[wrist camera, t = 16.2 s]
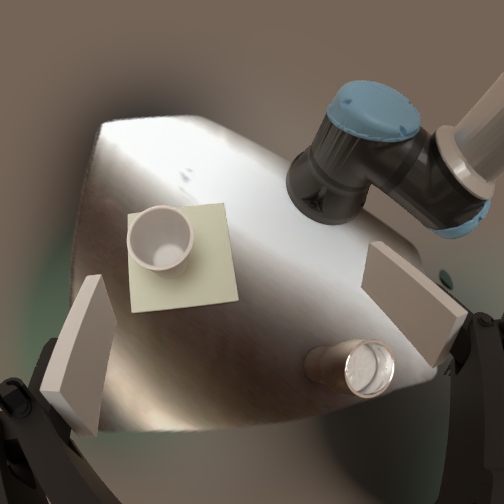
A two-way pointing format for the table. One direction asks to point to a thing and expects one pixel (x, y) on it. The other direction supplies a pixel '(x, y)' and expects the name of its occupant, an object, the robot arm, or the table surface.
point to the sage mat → (190, 268)
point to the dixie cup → (161, 240)
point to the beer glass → (352, 367)
